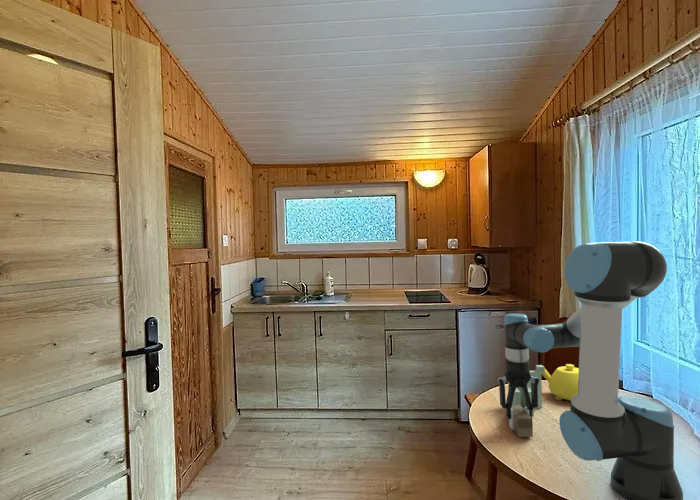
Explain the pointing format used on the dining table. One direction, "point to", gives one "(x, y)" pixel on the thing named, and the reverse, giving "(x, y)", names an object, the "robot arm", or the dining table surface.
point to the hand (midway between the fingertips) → (519, 427)
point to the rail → (522, 422)
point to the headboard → (519, 393)
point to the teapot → (563, 381)
